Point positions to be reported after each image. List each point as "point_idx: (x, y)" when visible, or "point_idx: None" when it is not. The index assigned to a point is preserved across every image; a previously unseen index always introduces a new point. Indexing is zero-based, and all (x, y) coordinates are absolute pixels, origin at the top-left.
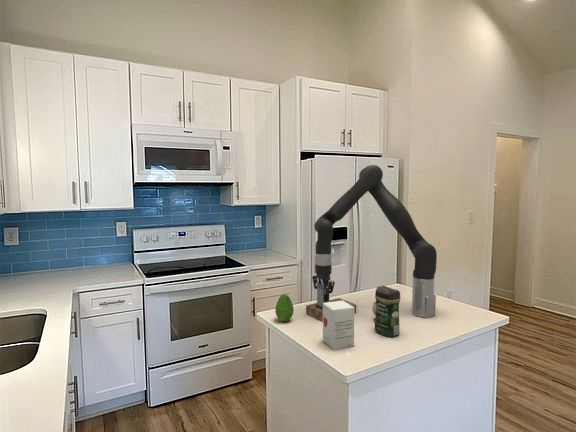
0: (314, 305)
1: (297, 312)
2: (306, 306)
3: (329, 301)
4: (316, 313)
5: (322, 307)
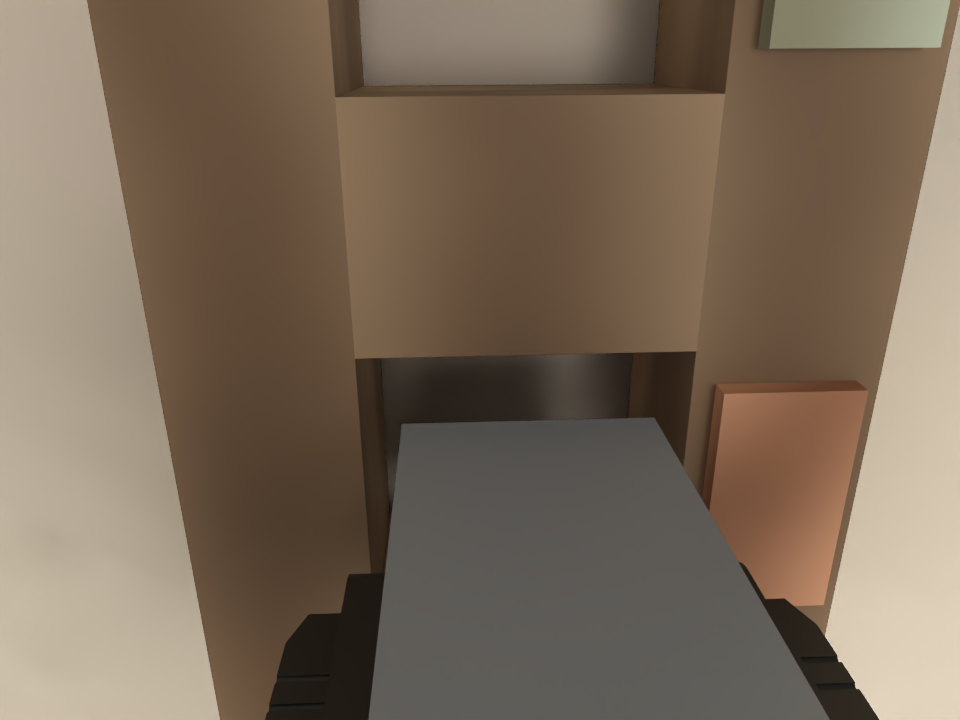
0: (324, 603)
1: (127, 668)
2: (244, 713)
3: (207, 53)
4: None
5: (367, 377)
